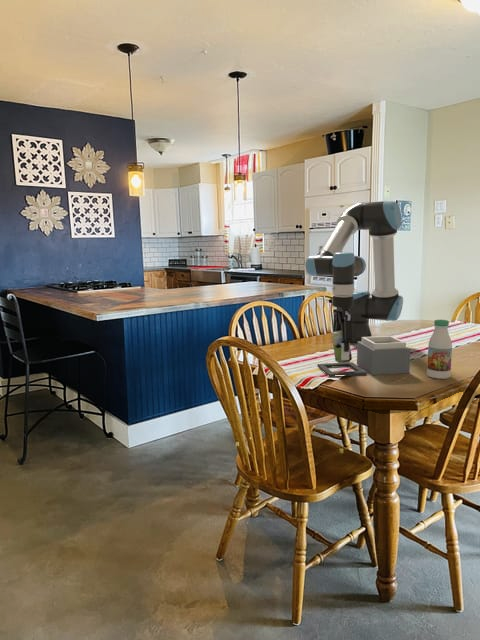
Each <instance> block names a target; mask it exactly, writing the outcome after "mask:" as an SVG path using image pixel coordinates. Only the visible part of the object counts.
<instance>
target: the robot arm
mask: <svg viewBox="0 0 480 640" xmlns="http://www.w3.org/2000/svg"><path fill="white" fill-rule="evenodd" d="M335 225H336V226H335V227H334V228H333V230H332V232H331V233H330V235H329V236H328V238H327V239H326V241H325V243H324V244H323V245H322V247H321V248H320V250H319V251H318V253H317V255H311V256H307V258H306V261H305V264H304V265H305V272H306V273H307V274H308V275H310V276H315V277H316V276H317V277H318V276H320V277H322V276H323V277H329V276H331V277H332V286H331V288H330V289H331V290H332V292H331V294H332V295H333V296H332V297H331V300H332V301H331V306H332V307H334V309H333V310H332V311H333V321H332V333H333V332H335V331H340V330H342V339H343V341H341V343H342V348H341V360H349V345H350V346H351V343H356V344H357V342H358V341H361V339H362V337H373V335H372V331H371V328H370V324H369V320H377V321H386V322H388V321H389V322H390V321H391V322H394V321H395V322H396V321H397V320H399V318H400V316H401V314H402V310H403V306H404V297H403V295H399V289H397V288H396V285H395V284H396V283H395V281H396V280H395V279H396V278H395V276H396V275H395V247H394V245H395V243H394V242H395V241H394V236H395V235H397V233H398V230H400V228H401V226H402V211H401V208H400V205H399V204H398V203H397V202H396V201H393V200H392V201H391V200H390V201H388V200H383V201H382V200H381V201H369V202H359V203H356V204H353V205H352V206H350V207H348V208H347V209H346V210H344V211H343V212H342V213H341V214H340V215H339V217H338V218H337V219H336V223H335ZM361 230H363V231H365V230H366V231H368V234H369V236H370V237H371V238H372V247H373V268H374V269H373V271H374V273H373V274H374V289H373V290H372V292H370V291H369V290H358V291H355V277H359V276H360V275H362V274H364V272H365V271H366V268H367V264H366V260H365V259H364V258H363V257H362V256H358V255H355V254H354V253H353V252H351V251H350V252H349V251H348V252H347V251H346V252H345V251H344V252H343V249H344V248H345V246H346V245H347V243H348V241H349V240H350V238H351V236H352V235H354V234H355V233H356V232H357V231H361Z"/></svg>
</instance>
